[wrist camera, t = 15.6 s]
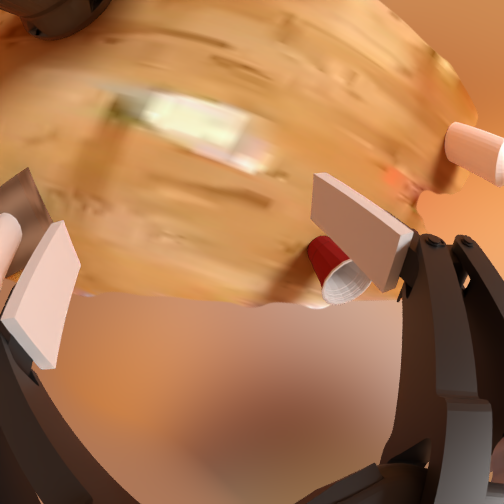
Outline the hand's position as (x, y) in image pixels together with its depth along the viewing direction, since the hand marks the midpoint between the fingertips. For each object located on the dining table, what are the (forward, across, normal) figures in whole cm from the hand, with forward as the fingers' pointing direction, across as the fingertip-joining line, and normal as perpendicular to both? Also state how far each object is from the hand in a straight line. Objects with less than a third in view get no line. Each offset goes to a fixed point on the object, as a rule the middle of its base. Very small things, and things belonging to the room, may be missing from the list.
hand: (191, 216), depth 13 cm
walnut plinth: (+28, -30, -7) cm, 42 cm away
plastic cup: (+27, +25, -25) cm, 44 cm away
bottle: (+27, +66, -2) cm, 72 cm away
